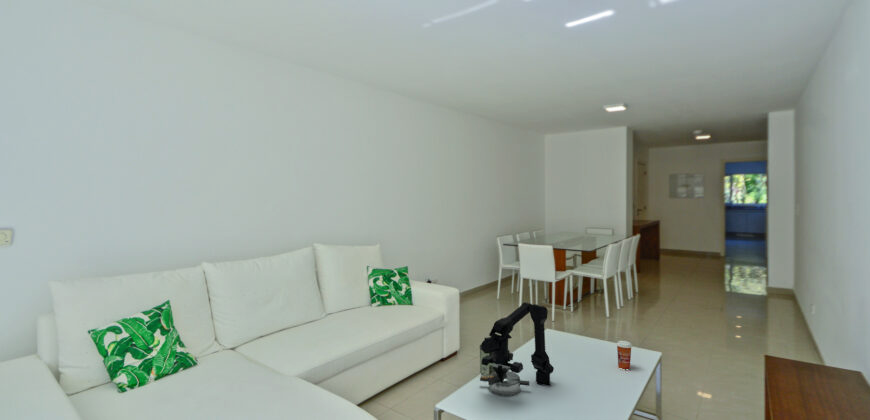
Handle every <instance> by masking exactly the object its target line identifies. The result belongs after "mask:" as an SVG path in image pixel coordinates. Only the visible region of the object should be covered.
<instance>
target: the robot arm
mask: <svg viewBox="0 0 870 420" xmlns="http://www.w3.org/2000/svg"><path fill="white" fill-rule="evenodd" d="M548 311H549V310H548V308H547V307H546V306H543V305H540V304H536V303H534V304H532V303H530V302H527V301H525V302H522V304H521V305H520V306H519V307H517V308H516V309H515V310H514V311H512V312H511V313H510V314H509V315H507V316H506V317H502V318H499V319H497V320H496V321H495V322H494V323H493V325H492V328H491V330H490V333H489V334H488V336H489V337H488V336H487V337H484V340H483V341H482V342H481V344H480V345H481V347H482V350H483V352H484V353H486V354H488V353H491V352H495V354H496V360H494V357H492V356H488V355H487V356H485V357H484V358H483V359H482V360H481V364H482V365H486V366H487V365H488V364H489V363H492V364H493V367H492V368H493V369H494V370H495V372H496V373H497V375H498V377H499V380H500V382H503V381H504V378H505V375H506V373H507V372H508V371H510V372H513V373H516V374H520V373H521V372H522V371H523V370H524V365H523V363H521V362H518V361H514V353H513V352H510V350H509V340H510V339H512V336H511V335H510V333H512V331H513V329H514V326H515V325H517V324H518V323H519V322H520V321H522V319H523V318H525V317H527V315H528V314H529V315H530V318H531V320H532V322H533V329H534V330H533V333H534V352H533V353H532V354H530V358H531V360H530V362H531V363H532V364H531V365H532V366H533V369H534V370H536V371H535V382H536V385H541V386H550V387H551V374H552V373H554V370H555V368H554V367H555V366H553V365H552V364H551V363H550V357H549V355H548V353H547V351H546V333H545V332H546V331H545V323H546V320H548V313H549V312H548ZM511 361H514V362H512V363H511Z"/></svg>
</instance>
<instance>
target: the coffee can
mask: <svg viewBox="0 0 870 420" xmlns="http://www.w3.org/2000/svg"><path fill="white" fill-rule="evenodd" d="M487 355H488V356H492V357H494V360H496V354H495V352H491V353H488V354H486V353H484V352H483V350H482V347H481V344H480V345H479V373H480V375H482V374H483V375H482V376H485V377H488V376H490V374H491V373H493V372H495V370H494V369H493V368H492V367H493V364H492V363H489V364H488V365H487V366H486V365H482V364H481V360H482V359H483V358H484V357H485V356H487Z"/></svg>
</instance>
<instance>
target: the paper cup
mask: <svg viewBox="0 0 870 420" xmlns="http://www.w3.org/2000/svg"><path fill="white" fill-rule="evenodd" d="M616 347H617V364H618V369H619V368H622V369H629V370H630V369H631V356H632V347H633V345H632V343H631V342H629V341H627V340H618V341H617V343H616Z"/></svg>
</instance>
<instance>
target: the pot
mask: <svg viewBox="0 0 870 420" xmlns="http://www.w3.org/2000/svg"><path fill="white" fill-rule="evenodd" d="M479 381H480V382H487V383H488V376H484V375H481V376H480V378H479ZM521 386H526V387H527V386H529V387H530V381H529V380H521V379H520V381H519V382H518V383H517V384H514V385H499V384H496V383H495V384H493V385H488V390H489V391H490V393H491V394H493V395H496V396H499V397H504V398H506V397H507V398H508V397H510V398H511V397H514V396H515V397H516V396H518V395H519V394H520V393H521Z"/></svg>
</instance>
